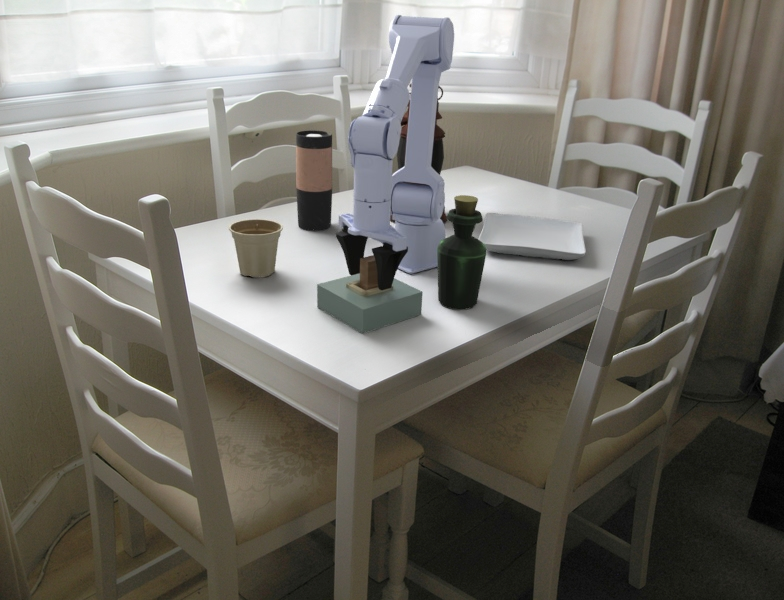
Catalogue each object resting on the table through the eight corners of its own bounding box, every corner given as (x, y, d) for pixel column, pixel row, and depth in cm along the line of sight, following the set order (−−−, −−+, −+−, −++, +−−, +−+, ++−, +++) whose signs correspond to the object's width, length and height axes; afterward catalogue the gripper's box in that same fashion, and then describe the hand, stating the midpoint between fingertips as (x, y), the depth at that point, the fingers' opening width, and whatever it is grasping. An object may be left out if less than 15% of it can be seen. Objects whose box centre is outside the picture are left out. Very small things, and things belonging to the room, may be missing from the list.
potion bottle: (491, 302, 120) (502, 199, 113) (462, 316, 114) (472, 208, 107) (452, 289, 125) (460, 189, 117) (423, 301, 119) (430, 197, 112)
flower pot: (260, 259, 134) (258, 215, 131) (294, 272, 129) (293, 226, 126) (220, 271, 128) (217, 226, 124) (254, 286, 122) (252, 238, 119)
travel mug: (291, 229, 152) (290, 135, 144) (304, 219, 159) (303, 129, 151) (325, 233, 150) (325, 138, 142) (336, 222, 157) (337, 132, 149)
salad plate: (584, 268, 138) (587, 252, 136) (475, 257, 141) (477, 240, 140) (580, 235, 157) (582, 221, 156) (484, 226, 161) (485, 211, 159)
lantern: (431, 233, 153) (440, 90, 141) (373, 223, 158) (377, 84, 146) (458, 213, 168) (468, 82, 156) (404, 205, 173) (410, 77, 161)
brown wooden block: (359, 304, 114) (360, 258, 111) (373, 300, 116) (375, 254, 113) (366, 309, 113) (368, 262, 110) (381, 304, 115) (383, 258, 111)
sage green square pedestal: (374, 290, 122) (375, 265, 121) (421, 314, 114) (422, 288, 112) (317, 306, 115) (317, 280, 113) (362, 333, 107) (363, 305, 105)
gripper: (323, 190, 110) (323, 272, 115) (382, 213, 100) (379, 301, 105) (359, 184, 114) (357, 263, 119) (419, 206, 104) (414, 291, 109)
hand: (369, 280), depth 113 cm, fingers open, 7 cm apart
